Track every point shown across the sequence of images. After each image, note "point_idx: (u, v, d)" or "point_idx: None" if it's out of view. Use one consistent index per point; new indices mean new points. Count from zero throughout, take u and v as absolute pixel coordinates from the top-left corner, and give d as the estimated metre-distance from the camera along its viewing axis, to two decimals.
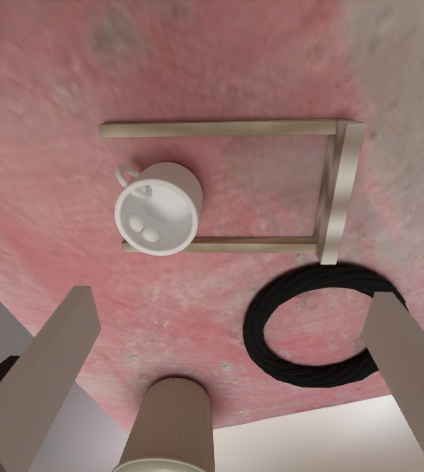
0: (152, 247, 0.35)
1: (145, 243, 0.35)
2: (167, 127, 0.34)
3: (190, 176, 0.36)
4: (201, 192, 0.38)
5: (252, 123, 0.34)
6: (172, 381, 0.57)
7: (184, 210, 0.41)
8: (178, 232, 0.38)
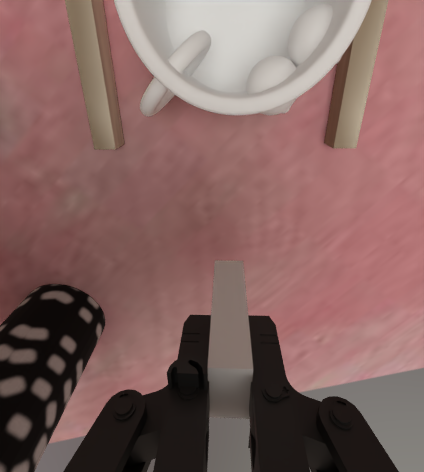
0: (346, 5, 0.11)
1: (328, 36, 0.12)
2: None
3: None
4: None
5: None
6: None
7: None
8: None
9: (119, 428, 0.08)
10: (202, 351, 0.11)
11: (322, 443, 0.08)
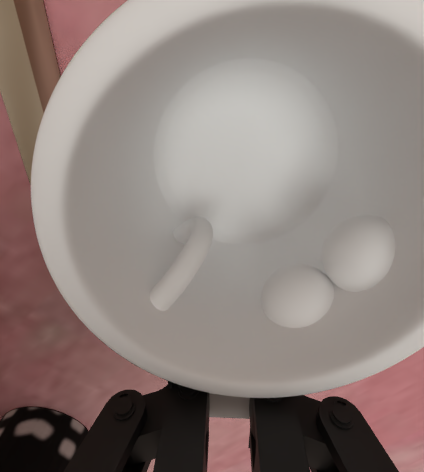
0: None
1: (392, 300, 0.07)
2: (28, 150, 0.12)
3: None
4: None
5: None
6: None
7: (296, 112, 0.12)
8: (375, 139, 0.09)
9: (119, 428, 0.08)
10: None
11: (322, 443, 0.08)
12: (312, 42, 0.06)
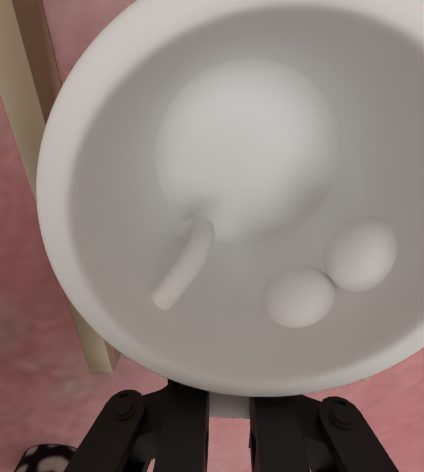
0: None
1: (393, 301, 0.08)
2: None
3: None
4: None
5: None
6: None
7: (298, 113, 0.12)
8: (377, 140, 0.09)
9: (119, 428, 0.08)
10: None
11: (322, 443, 0.08)
12: (317, 43, 0.06)
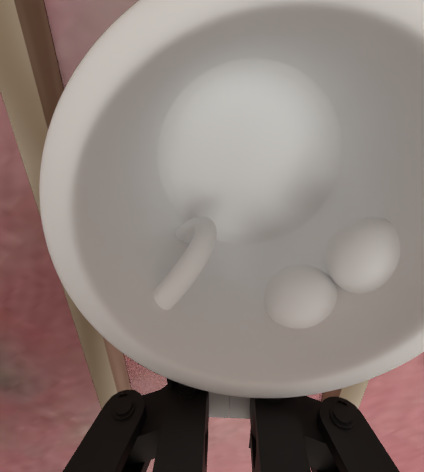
0: None
1: (396, 302, 0.08)
2: (88, 348, 0.18)
3: None
4: None
5: (35, 192, 0.13)
6: None
7: (301, 114, 0.12)
8: (381, 141, 0.09)
9: (118, 428, 0.08)
10: None
11: (323, 443, 0.08)
12: (323, 43, 0.06)
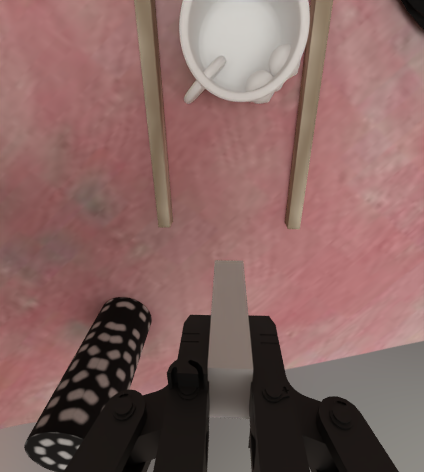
0: (294, 48, 0.22)
1: (287, 62, 0.23)
2: (155, 161, 0.33)
3: None
4: None
5: (141, 58, 0.28)
6: None
7: (263, 19, 0.27)
8: (287, 15, 0.24)
9: (119, 428, 0.08)
10: (202, 351, 0.11)
11: (322, 443, 0.08)
12: None
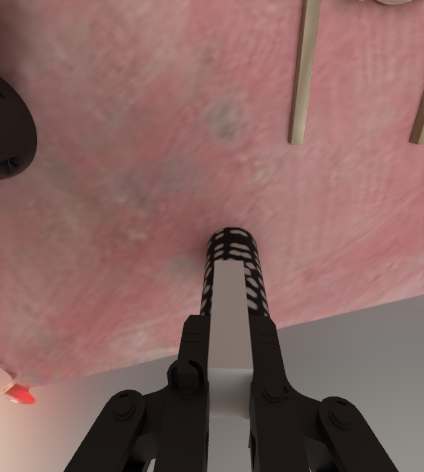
0: None
1: None
2: (302, 72, 0.34)
3: None
4: None
5: None
6: None
7: None
8: None
9: (119, 428, 0.08)
10: (202, 351, 0.11)
11: (322, 443, 0.08)
12: None
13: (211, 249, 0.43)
